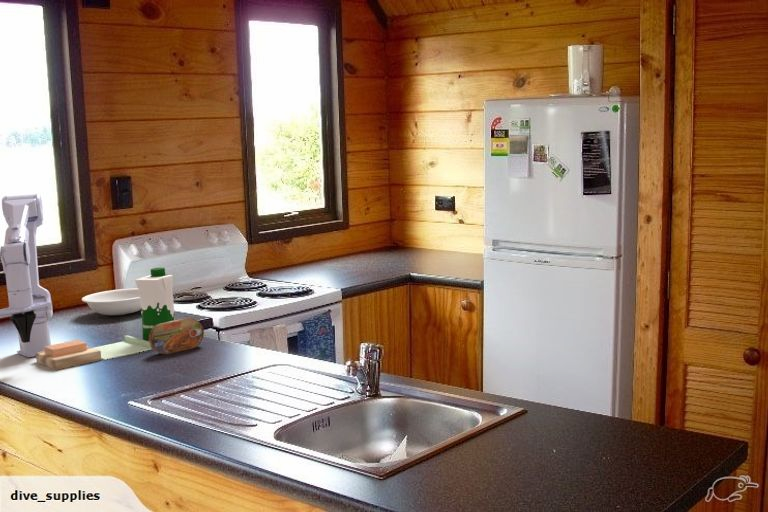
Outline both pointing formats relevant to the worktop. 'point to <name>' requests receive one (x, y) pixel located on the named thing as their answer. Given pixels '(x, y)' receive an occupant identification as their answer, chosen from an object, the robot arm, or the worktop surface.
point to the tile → (65, 348)
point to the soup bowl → (114, 301)
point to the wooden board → (69, 358)
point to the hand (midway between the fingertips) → (25, 341)
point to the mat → (124, 348)
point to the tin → (176, 336)
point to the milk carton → (155, 299)
